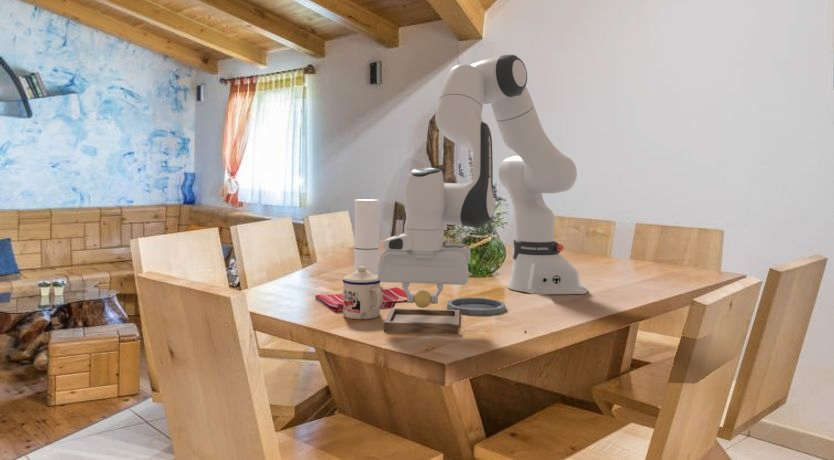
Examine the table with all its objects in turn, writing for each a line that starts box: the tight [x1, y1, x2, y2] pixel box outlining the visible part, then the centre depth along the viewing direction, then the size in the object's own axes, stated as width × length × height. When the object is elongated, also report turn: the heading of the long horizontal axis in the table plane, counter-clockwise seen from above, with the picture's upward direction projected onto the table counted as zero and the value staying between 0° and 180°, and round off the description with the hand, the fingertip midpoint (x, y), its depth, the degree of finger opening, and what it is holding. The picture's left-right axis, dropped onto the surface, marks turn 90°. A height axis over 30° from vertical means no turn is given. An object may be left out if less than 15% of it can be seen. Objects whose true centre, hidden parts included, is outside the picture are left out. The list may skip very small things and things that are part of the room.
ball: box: [414, 289, 432, 309], centre depth 146 cm, size 4×4×4 cm
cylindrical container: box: [353, 198, 380, 275], centre depth 193 cm, size 7×7×25 cm
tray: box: [383, 307, 460, 335], centre depth 147 cm, size 16×14×2 cm
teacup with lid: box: [342, 266, 383, 320], centre depth 153 cm, size 12×9×12 cm
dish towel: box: [314, 286, 407, 313], centre depth 170 cm, size 17×24×3 cm
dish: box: [446, 296, 507, 316], centre depth 160 cm, size 14×14×2 cm
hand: (422, 302), depth 146 cm, fingers closed on ball, 4 cm apart
